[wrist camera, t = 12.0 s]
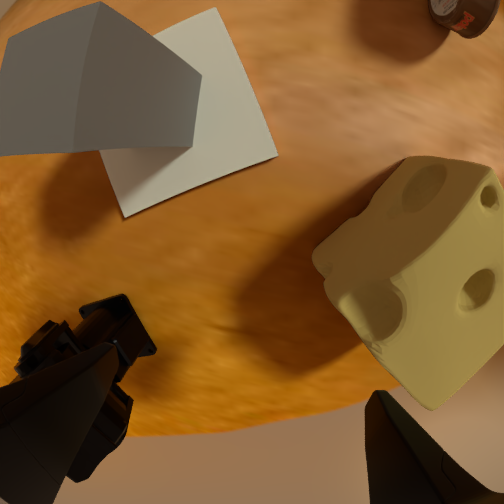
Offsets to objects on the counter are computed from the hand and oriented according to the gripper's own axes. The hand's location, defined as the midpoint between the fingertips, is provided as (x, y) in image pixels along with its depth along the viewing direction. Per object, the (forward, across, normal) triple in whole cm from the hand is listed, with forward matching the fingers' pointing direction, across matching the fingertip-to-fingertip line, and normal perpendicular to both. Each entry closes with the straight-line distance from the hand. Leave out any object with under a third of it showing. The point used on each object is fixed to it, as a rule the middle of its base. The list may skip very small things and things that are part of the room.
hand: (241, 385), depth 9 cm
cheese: (+13, -10, -2) cm, 17 cm away
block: (+12, +8, -9) cm, 17 cm away
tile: (+13, +8, -9) cm, 18 cm away
